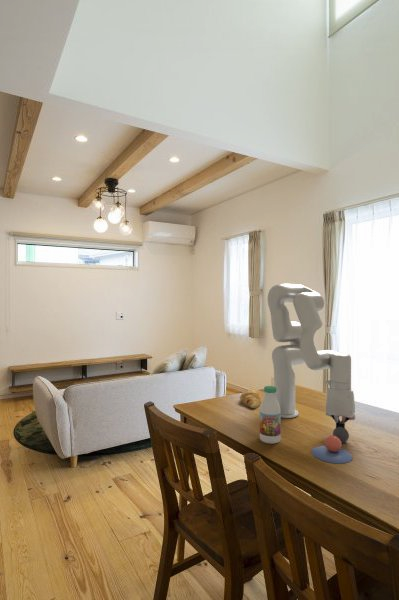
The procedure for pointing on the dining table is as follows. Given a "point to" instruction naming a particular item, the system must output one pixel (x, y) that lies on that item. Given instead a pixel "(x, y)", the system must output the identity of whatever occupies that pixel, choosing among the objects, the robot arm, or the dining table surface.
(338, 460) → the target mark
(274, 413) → the milk bottle
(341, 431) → the dark grey ball
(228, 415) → the dining table surface
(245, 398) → the croissant
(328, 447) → the red ball
